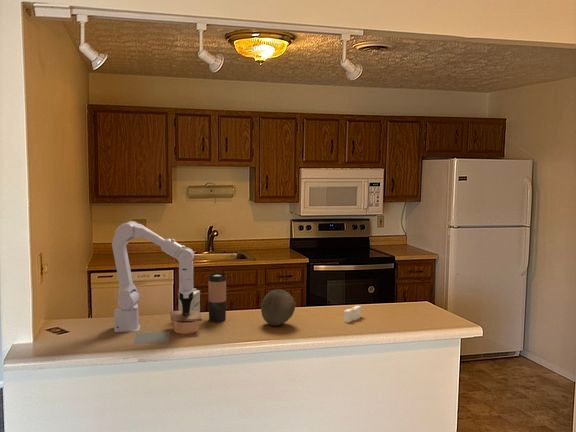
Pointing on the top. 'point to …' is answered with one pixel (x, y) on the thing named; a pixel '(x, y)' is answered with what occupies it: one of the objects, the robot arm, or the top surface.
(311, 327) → the top surface
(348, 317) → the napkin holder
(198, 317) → the walnut cover
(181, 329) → the terracotta bowl
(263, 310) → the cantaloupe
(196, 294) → the supplement box
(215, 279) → the travel mug
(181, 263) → the robot arm
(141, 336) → the slate mat
